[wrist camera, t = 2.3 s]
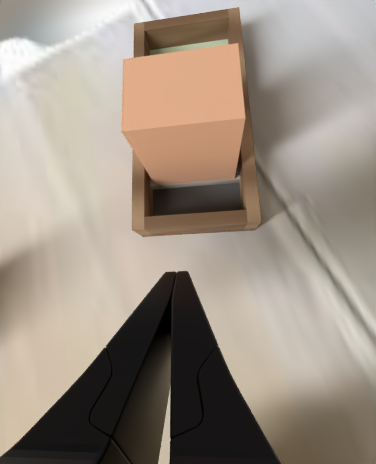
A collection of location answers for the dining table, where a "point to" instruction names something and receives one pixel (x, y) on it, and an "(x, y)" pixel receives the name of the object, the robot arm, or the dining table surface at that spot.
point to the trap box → (208, 192)
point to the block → (185, 113)
